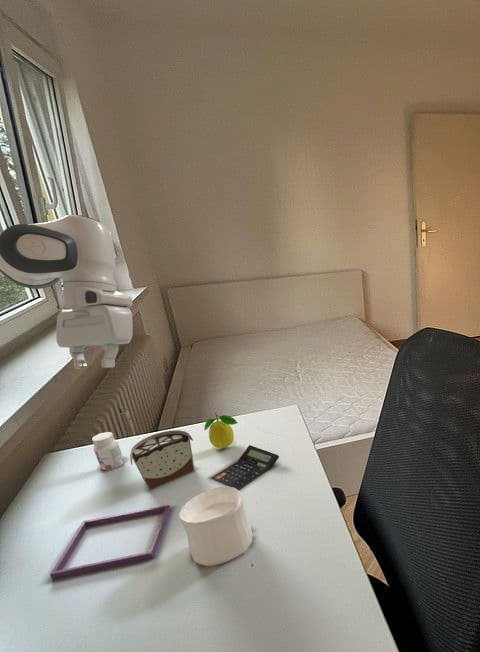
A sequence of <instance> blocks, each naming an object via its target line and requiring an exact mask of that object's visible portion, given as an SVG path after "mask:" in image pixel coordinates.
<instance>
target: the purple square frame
mask: <svg viewBox="0 0 480 652" xmlns="http://www.w3.org/2000/svg"><path fill="white" fill-rule="evenodd" d="M171 511H172V507H171V505H170V504H166V505H160V506H156V507H150V508H144V509H139V510H134V511H129V512H124V513H119V514H114V515H109V516H103V517H99V518H98V517H97V518H93V519H87V520H83V521H82V522H81V524H80V526H79V527H78V529H77V530H76V532H75V534H74V535H73V537H72V538H71V540H70V541H69V543H68V545H67V546H66V548H65V549H64V551H63V552H62V554H61V556H60V558H59V559H58V561H57V562H56V563H55V566H54V567H53V568H52V570H51V572H50V574H49V576H50V578H51V580H52V581H54V580H58V579H63V578H68V577H72V576H77V575H82V574H86V573H92V572H97V571H100V570H106V569H111V568H115V567H116V568H117V567H120V566H125V565H129V564H130V565H131V564H134V563H139V562H144V561H148V560H149V561H150V560H153V559H154V558H155V555H156V552H157V550H158V548H159V545H160V542H161V539H162V535H163V534H164V530H165V528H166V525H167V522H168V519H169V517H170V514H171ZM158 514H159V515H160V514H162V516H161V518H160V521H159V523H158V527H157V528H156V531H155V534H154V537H153V539H152V542H151V545H150V547H149V550H148V551H145V552H141V553H135V554H130V555H126V556H122V557H117V558H111V559H107V560H102V561H97V562H92V563H88V564H84V565H78V566H74V567H69V568H65V566H66V564H67V562H68V560H69V559H70V557H71V555H72V554H73V552H74V550H75V549H76V547H77V546H78V544H79V542H80V541H81V539H82V538H83V536H84V534H85V532H86V531H87V529H88V528H91V527H96V526H101V525H107V524H113V523H118V522H122V521H127V520H132V519H133V520H134V519H137V518H142V517H143V518H144V517H148V516H153V515H158Z"/></svg>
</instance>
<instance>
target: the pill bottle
mask: <svg viewBox="0 0 480 652" xmlns="http://www.w3.org/2000/svg"><path fill="white" fill-rule="evenodd" d="M91 441H92V445H93V452H94V454H95V457H96V459H97V462H98V464H99V467H100V469H101V470H102V471H110V470H114V469H117V468H119V467H122V466H125V464H126V462H125V458H124V456H123V453H122V450H121V447H120V445H119V442H118V440H117V439H116V438H115V437H114V434H113V433H112V432H111V431H103V432H100V433H98V434H96V435H94V436H92V438H91Z"/></svg>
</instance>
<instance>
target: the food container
mask: <svg viewBox="0 0 480 652" xmlns="http://www.w3.org/2000/svg"><path fill="white" fill-rule="evenodd" d="M193 441H194V439H193V437H192V436H191V434H190V433H189V432H187V431H185V430H179V429H176V430H175V429H174V430H165V431H162V432H157V433H154V434H151V435H149V436H147V437H144V438H142V439H141V440H139V441H138V442H137V443H135V444H134V445H133V446H132V448H131V450H130V454H129V456H130V457H129V459H130V465H133V461H134V465H135V466H136V468H137V470H138V472H139V474H140V476H141V477H142V480H143V482H144V483H145V486H146V487H147V489H148V491H151V490H152V489H155V488H158V487H159V486H162V485H164V484H166V483H169V482H171V481H174V480H175V479H177V478H178V479H179V478H180V477H183V476H185V475H186V474H189V473H191V472H194V471H196V469H195V463H194V457H193V450H192V444H191V442H193Z"/></svg>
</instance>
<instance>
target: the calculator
mask: <svg viewBox="0 0 480 652" xmlns="http://www.w3.org/2000/svg"><path fill="white" fill-rule="evenodd" d="M279 458H280V456H279V454H276V453H273V452H271V451H268V450H265V449H262V448H259V447H257V446H253V445H251V444H249V445H248V446H247V447H246V449H245V450H244V452H243V453H242V455H240V457H239V458H238V460H237V461H236V462H234V463H232V464H230V465H229V466H227V467H226V468H224V469H222V470H221V471H219V472H217V473H216V474H215V475H212V476H211V477H210V480H214V481H215V482H217V483H220V484H222V485H225V486H226V487H233V488H235V489H237V490H238V491H240V490H242V489H244V488H245V487H246V486H248V485H249V484H250V483H252V482H254V481H255V480H257V479H258V478H260V477H261V476H263V475H264V474H266V473H267V472H268V471H270V470H271V469H273V467H274V466H275V464H276V462H278V460H279Z"/></svg>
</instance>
